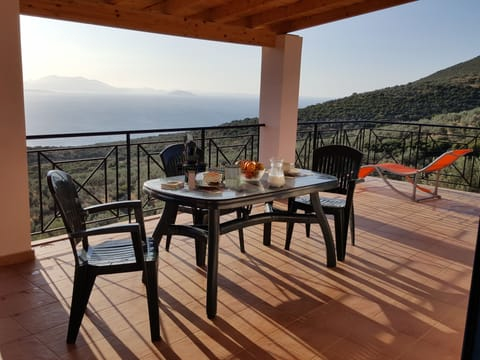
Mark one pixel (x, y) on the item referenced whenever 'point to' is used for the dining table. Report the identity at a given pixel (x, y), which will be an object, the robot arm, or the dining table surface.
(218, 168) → the food container
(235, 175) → the coffee can
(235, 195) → the dining table surface
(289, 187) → the dining table surface
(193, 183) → the pink tall block
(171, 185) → the rack
